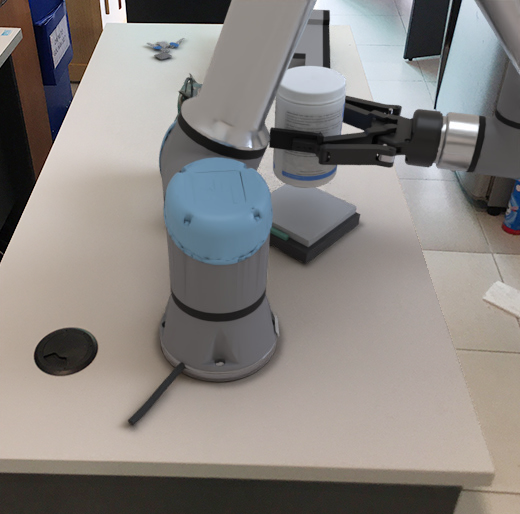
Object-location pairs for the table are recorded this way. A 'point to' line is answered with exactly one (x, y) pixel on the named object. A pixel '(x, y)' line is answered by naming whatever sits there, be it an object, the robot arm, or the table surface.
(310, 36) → the game console
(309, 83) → the supplement tub
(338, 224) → the scale
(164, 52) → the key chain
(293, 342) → the table surface
